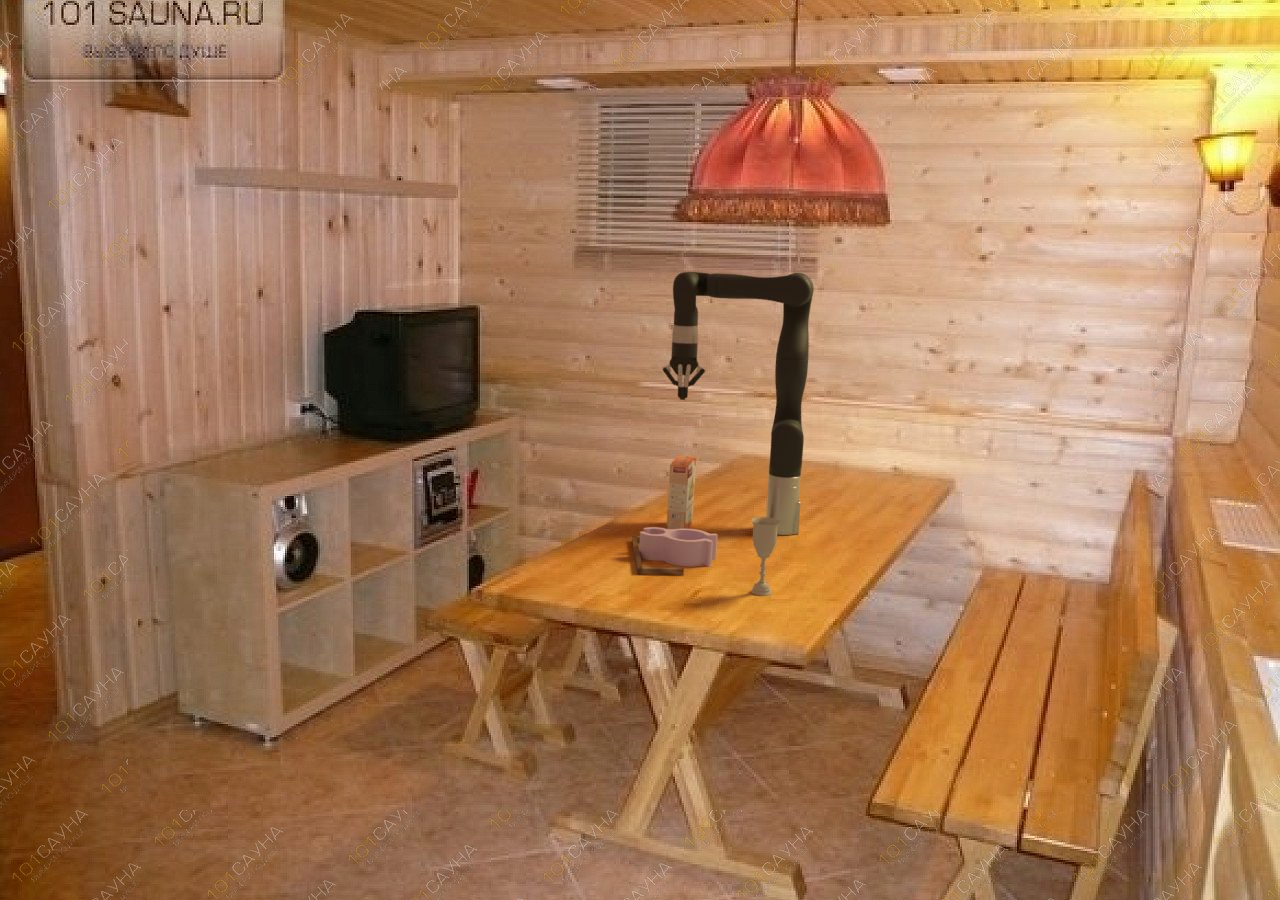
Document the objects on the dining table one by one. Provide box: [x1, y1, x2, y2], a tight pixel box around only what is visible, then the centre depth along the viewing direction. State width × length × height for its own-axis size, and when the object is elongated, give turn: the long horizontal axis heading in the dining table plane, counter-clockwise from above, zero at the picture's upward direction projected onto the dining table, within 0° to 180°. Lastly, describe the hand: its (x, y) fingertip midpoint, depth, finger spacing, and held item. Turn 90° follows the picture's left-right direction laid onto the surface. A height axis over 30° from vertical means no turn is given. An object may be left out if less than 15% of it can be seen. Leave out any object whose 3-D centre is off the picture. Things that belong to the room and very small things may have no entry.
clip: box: [638, 526, 718, 567], centre depth 289 cm, size 20×12×7 cm, turn 75°
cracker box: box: [666, 455, 697, 529], centre depth 315 cm, size 14×6×21 cm, turn 168°
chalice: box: [750, 516, 780, 597], centre depth 263 cm, size 7×7×18 cm
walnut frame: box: [631, 535, 685, 576], centre depth 289 cm, size 12×30×2 cm, turn 3°
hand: (682, 399), depth 320 cm, fingers closed
